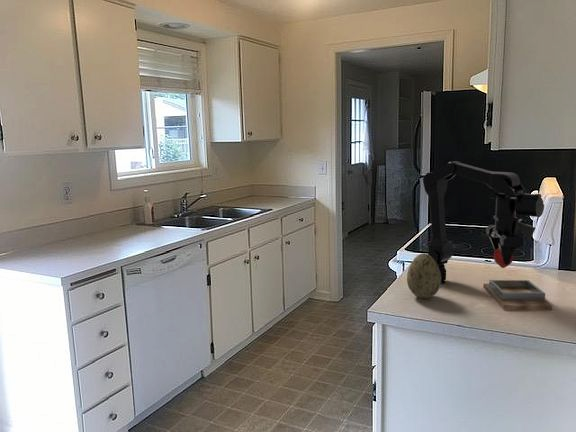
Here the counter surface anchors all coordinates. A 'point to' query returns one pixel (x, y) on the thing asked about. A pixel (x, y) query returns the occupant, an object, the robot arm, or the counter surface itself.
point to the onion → (500, 258)
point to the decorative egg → (424, 276)
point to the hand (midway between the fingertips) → (503, 261)
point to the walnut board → (518, 304)
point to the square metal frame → (516, 296)
